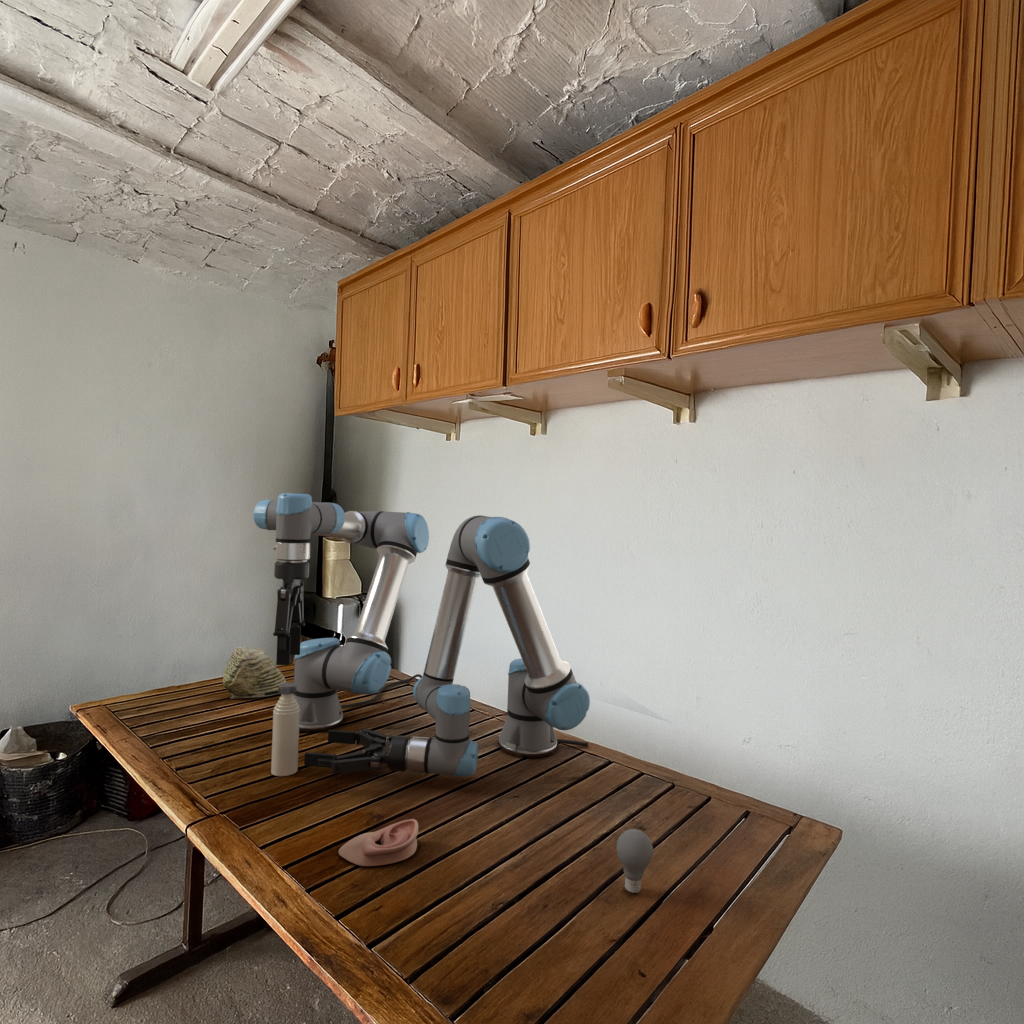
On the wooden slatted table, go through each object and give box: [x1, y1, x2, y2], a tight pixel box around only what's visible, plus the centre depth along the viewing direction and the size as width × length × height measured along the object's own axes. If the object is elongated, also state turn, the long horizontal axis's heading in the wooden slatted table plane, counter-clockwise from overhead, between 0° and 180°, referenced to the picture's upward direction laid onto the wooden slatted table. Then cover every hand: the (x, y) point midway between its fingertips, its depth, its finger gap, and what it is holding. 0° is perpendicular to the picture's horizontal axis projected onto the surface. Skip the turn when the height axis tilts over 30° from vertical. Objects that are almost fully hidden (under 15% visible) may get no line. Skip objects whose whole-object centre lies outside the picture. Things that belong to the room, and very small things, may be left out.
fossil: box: [222, 646, 287, 699], centre depth 198 cm, size 9×18×15 cm, turn 132°
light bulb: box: [615, 828, 654, 894], centre depth 106 cm, size 6×6×10 cm
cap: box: [278, 681, 297, 695], centre depth 145 cm, size 4×4×2 cm
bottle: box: [270, 693, 300, 777], centre depth 145 cm, size 6×6×20 cm
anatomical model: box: [337, 818, 419, 867], centre depth 114 cm, size 13×4×12 cm
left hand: (288, 659), depth 145 cm, fingers open, 8 cm apart
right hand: (317, 746), depth 144 cm, fingers open, 13 cm apart
